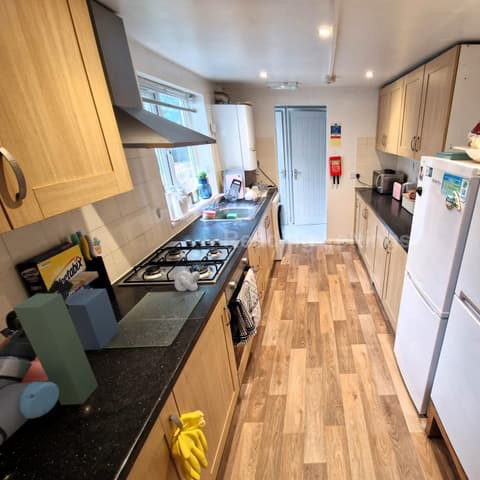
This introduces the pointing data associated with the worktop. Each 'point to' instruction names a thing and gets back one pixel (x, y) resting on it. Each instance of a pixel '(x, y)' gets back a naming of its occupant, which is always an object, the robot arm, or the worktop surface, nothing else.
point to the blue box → (92, 317)
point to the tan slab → (82, 280)
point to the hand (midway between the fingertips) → (64, 282)
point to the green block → (57, 346)
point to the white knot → (186, 281)
